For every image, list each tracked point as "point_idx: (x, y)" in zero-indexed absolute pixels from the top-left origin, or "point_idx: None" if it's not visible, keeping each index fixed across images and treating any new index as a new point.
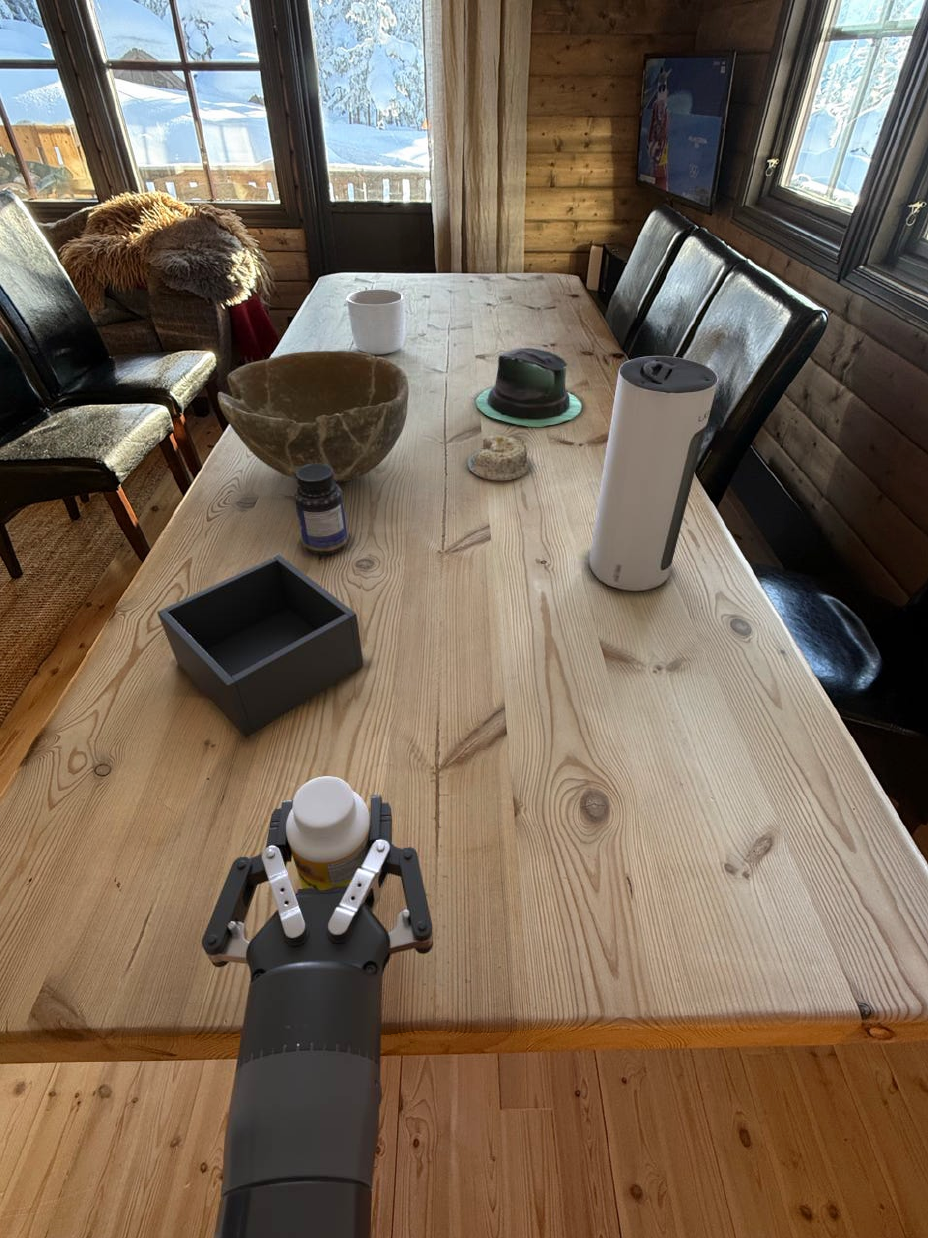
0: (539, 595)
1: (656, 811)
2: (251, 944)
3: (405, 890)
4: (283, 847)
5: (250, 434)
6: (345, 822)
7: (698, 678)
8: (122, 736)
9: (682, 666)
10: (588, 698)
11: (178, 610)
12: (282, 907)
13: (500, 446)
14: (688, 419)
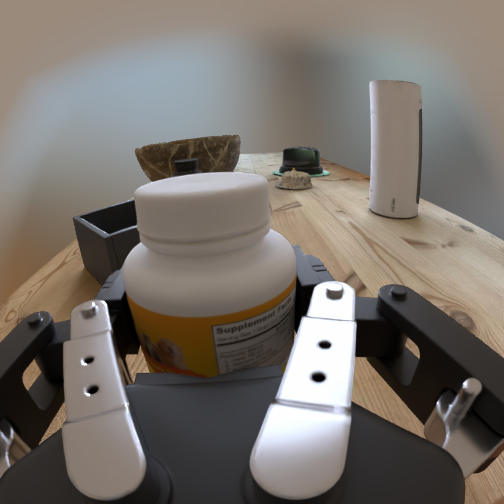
0: (347, 222)
1: (499, 313)
2: (2, 475)
3: (439, 343)
4: (117, 309)
5: (149, 158)
6: (256, 206)
7: (467, 248)
8: (38, 303)
9: (455, 244)
10: (414, 262)
11: (86, 217)
12: (78, 398)
13: (294, 172)
14: (415, 98)
